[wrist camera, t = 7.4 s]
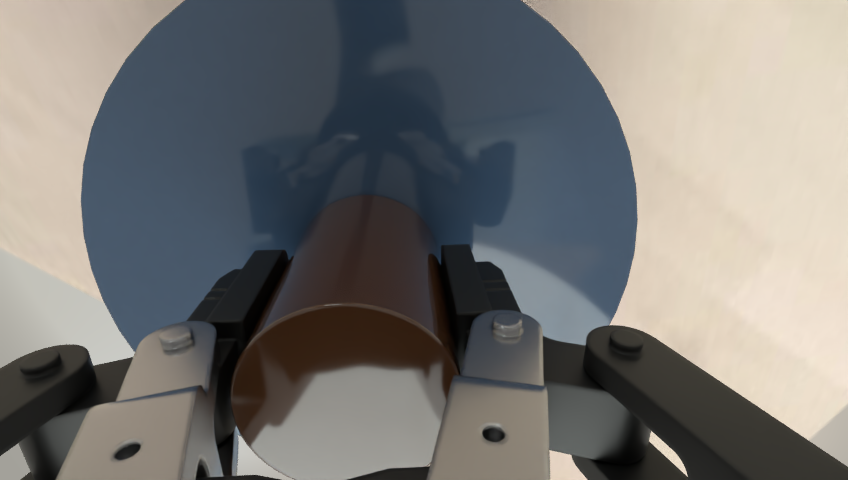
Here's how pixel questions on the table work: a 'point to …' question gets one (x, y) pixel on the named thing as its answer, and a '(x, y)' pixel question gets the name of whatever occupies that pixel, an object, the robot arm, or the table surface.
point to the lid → (355, 202)
